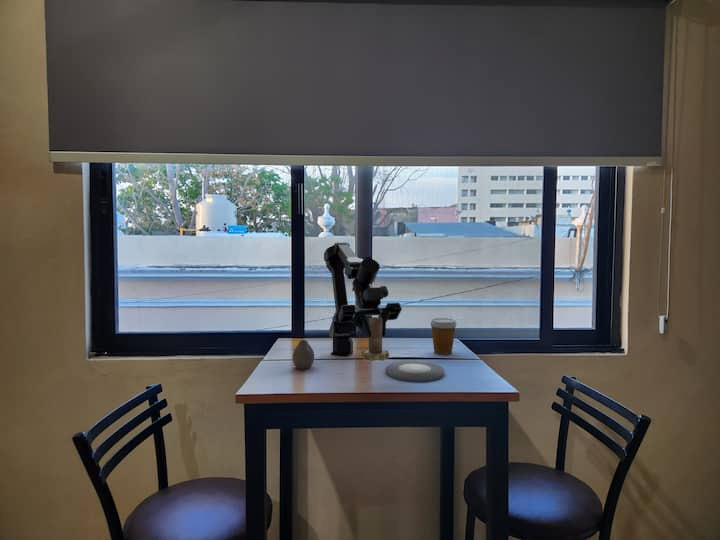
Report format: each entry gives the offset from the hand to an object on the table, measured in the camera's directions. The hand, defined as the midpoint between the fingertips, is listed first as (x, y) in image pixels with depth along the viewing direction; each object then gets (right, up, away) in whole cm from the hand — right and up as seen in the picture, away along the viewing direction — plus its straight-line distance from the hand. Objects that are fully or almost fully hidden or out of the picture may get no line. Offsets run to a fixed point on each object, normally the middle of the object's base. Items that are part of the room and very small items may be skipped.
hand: (377, 336), depth 132 cm
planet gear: (0, -6, +2) cm, 7 cm away
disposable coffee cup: (+25, -11, +35) cm, 45 cm away
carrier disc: (+12, -13, +10) cm, 20 cm away
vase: (-23, -13, +15) cm, 30 cm away
